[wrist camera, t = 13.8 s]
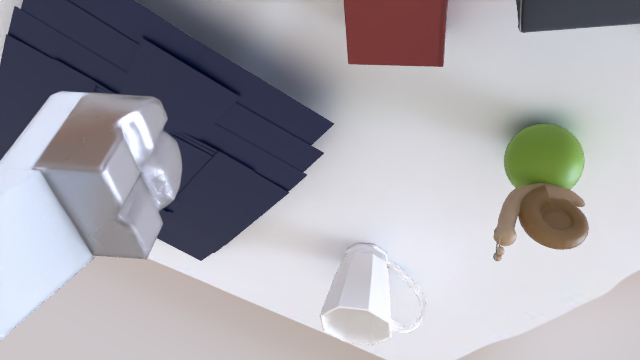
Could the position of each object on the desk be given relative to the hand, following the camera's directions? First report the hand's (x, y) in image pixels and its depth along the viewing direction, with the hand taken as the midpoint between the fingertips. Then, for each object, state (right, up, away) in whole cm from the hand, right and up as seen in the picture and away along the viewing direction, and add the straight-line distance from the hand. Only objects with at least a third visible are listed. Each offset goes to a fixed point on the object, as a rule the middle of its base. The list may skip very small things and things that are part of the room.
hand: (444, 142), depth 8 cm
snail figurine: (+15, +3, +37) cm, 40 cm away
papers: (-16, +4, +44) cm, 47 cm away
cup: (+4, -9, +52) cm, 53 cm away
